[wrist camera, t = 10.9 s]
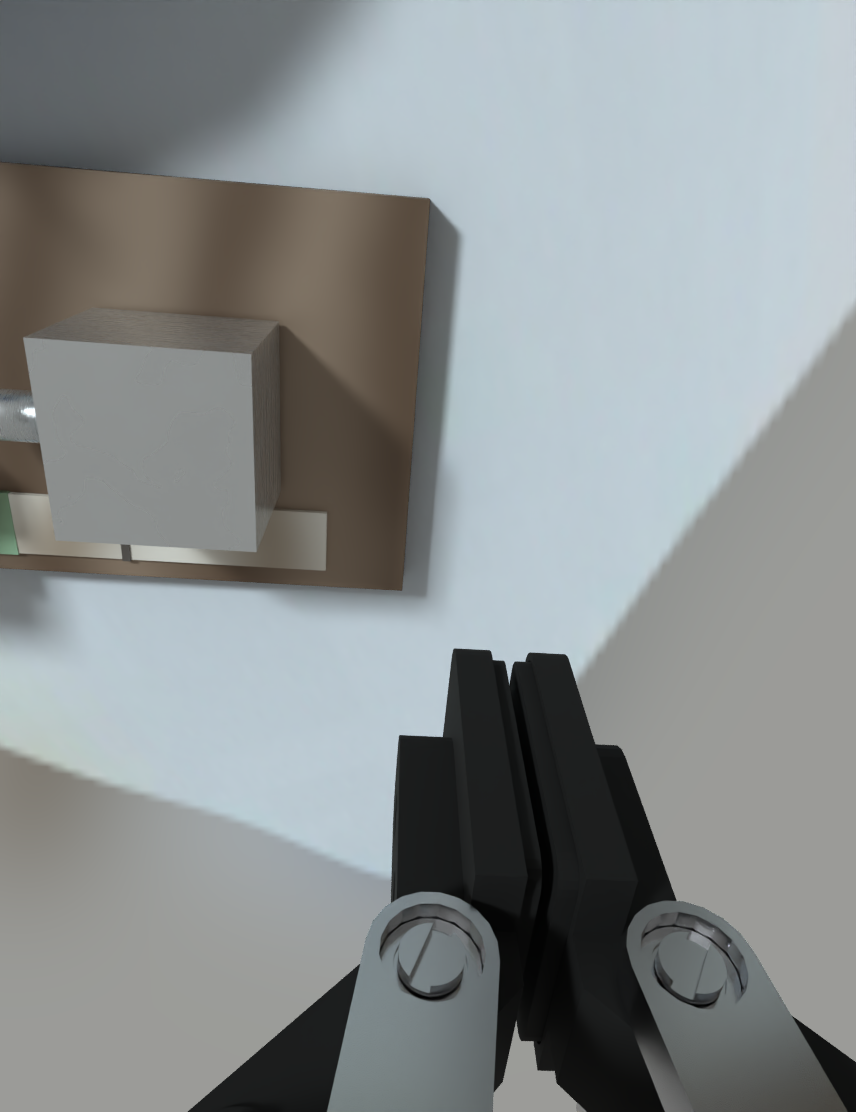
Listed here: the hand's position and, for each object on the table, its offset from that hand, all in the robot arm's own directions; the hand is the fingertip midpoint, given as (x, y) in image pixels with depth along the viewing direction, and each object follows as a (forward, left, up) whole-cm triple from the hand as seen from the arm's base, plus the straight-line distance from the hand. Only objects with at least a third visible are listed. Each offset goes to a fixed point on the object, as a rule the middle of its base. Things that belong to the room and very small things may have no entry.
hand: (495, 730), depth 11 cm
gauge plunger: (+11, 0, -17) cm, 20 cm away
